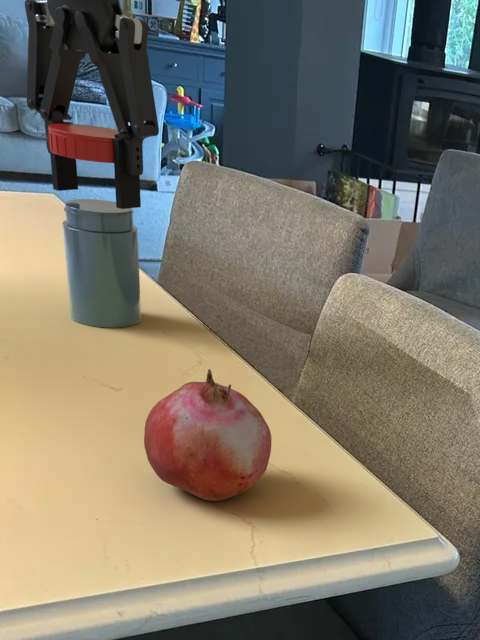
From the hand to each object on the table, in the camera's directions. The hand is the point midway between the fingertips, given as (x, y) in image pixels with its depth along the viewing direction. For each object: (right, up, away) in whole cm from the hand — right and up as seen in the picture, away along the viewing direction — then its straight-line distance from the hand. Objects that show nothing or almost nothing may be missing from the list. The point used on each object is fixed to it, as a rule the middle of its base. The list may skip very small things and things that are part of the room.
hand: (96, 198), depth 94 cm
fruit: (+19, -34, -24) cm, 46 cm away
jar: (-2, -11, +7) cm, 13 cm away
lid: (+1, +5, -3) cm, 6 cm away
